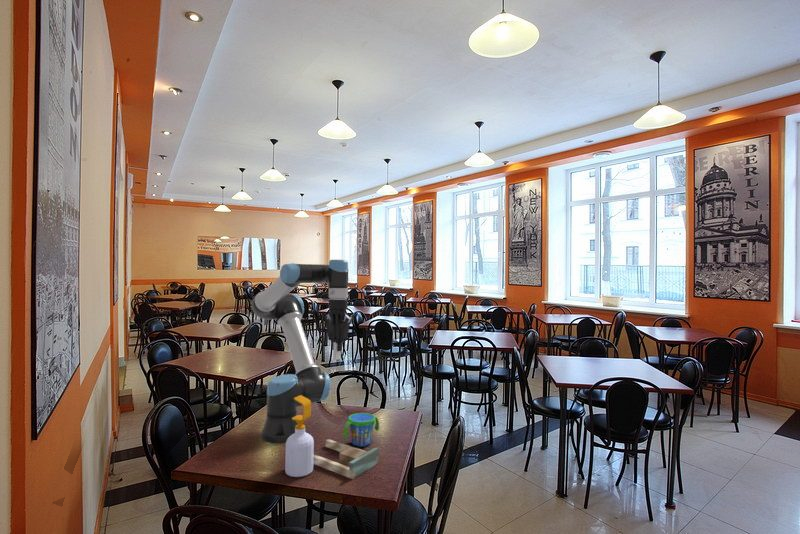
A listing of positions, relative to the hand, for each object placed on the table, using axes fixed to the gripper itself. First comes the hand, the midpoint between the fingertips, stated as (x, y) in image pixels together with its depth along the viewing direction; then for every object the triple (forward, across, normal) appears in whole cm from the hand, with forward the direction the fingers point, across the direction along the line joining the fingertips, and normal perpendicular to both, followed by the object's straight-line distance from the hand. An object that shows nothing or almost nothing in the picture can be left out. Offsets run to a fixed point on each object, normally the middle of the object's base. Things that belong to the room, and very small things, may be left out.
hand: (336, 358), depth 160 cm
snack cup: (+33, +9, +5) cm, 34 cm away
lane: (+32, +12, -11) cm, 36 cm away
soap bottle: (+33, +6, -24) cm, 41 cm away
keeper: (+33, +18, -11) cm, 39 cm away
